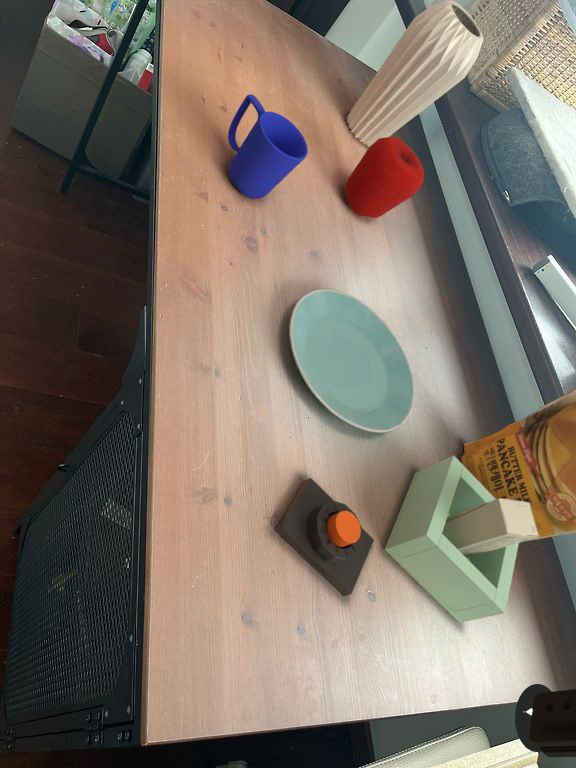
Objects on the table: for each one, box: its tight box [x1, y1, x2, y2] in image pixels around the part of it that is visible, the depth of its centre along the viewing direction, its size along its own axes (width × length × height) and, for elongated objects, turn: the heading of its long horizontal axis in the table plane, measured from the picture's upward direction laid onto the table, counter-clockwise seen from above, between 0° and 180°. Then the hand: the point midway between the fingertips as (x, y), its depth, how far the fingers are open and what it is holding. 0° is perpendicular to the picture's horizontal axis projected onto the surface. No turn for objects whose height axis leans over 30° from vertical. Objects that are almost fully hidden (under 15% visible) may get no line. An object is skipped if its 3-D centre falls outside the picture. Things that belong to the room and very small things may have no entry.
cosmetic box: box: [442, 498, 539, 558], centre depth 77 cm, size 6×4×12 cm
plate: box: [288, 288, 416, 434], centre depth 85 cm, size 22×22×3 cm
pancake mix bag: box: [460, 388, 576, 542], centre depth 83 cm, size 7×19×28 cm, turn 8°
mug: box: [227, 93, 309, 199], centre depth 88 cm, size 8×12×10 cm
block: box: [275, 477, 375, 597], centre depth 70 cm, size 11×8×3 cm
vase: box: [346, 0, 485, 148], centre depth 113 cm, size 13×13×26 cm
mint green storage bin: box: [384, 455, 520, 624], centre depth 79 cm, size 14×14×7 cm
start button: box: [326, 511, 361, 547], centre depth 68 cm, size 4×4×2 cm
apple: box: [345, 136, 425, 219], centre depth 104 cm, size 11×10×14 cm
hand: (540, 724), depth 39 cm, fingers closed
